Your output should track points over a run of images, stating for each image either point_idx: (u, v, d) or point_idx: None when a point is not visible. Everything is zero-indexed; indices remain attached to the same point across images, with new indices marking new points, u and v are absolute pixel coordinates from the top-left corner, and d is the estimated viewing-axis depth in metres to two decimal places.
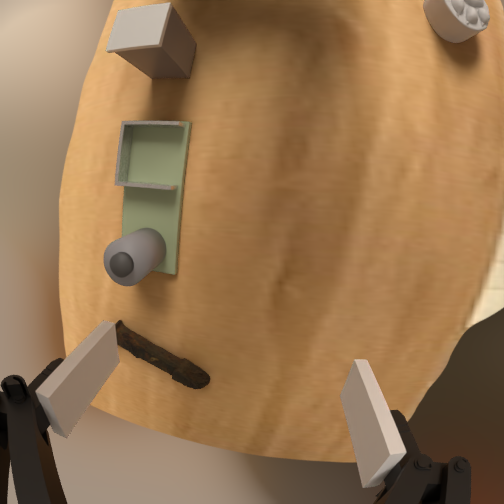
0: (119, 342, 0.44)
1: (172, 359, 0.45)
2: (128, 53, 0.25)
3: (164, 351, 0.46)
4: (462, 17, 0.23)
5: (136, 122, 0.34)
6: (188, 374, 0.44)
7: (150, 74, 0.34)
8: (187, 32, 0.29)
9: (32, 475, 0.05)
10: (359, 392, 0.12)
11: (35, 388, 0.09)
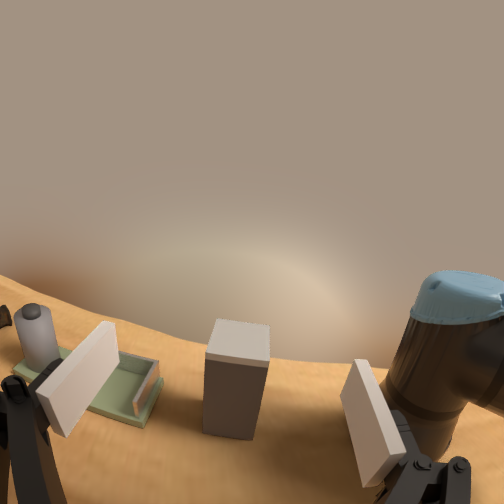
0: None
1: None
2: None
3: None
4: None
5: (151, 370, 0.33)
6: None
7: None
8: (254, 415, 0.28)
9: (32, 475, 0.05)
10: (359, 392, 0.12)
11: (35, 388, 0.09)
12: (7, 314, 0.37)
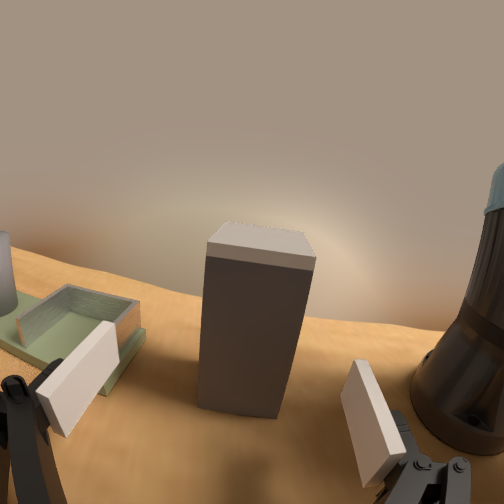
0: None
1: None
2: None
3: None
4: None
5: (126, 311, 0.23)
6: None
7: None
8: (283, 370, 0.18)
9: (32, 475, 0.05)
10: (359, 392, 0.12)
11: (35, 388, 0.09)
12: None
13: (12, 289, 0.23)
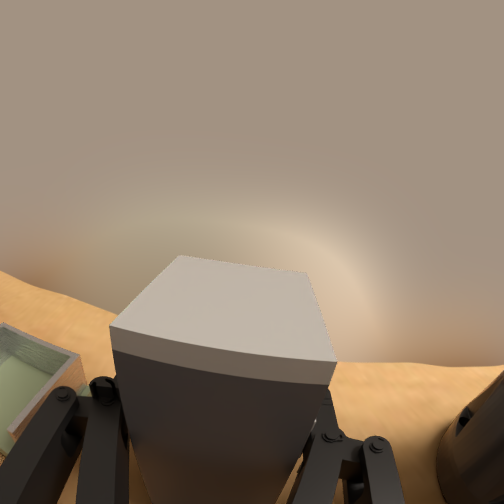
0: None
1: None
2: None
3: None
4: None
5: (60, 372, 0.14)
6: None
7: None
8: (269, 495, 0.09)
9: (102, 481, 0.06)
10: None
11: None
12: None
13: None
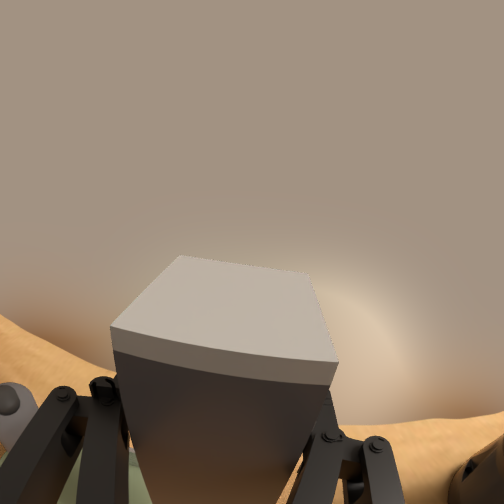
0: None
1: None
2: None
3: None
4: None
5: None
6: None
7: None
8: (270, 495, 0.09)
9: (102, 481, 0.06)
10: None
11: None
12: None
13: None
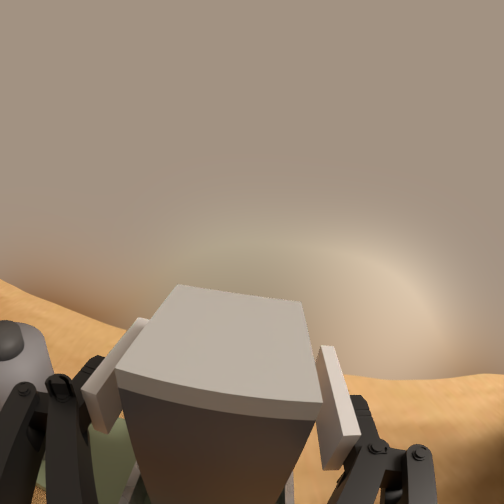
0: None
1: None
2: None
3: None
4: None
5: None
6: None
7: None
8: None
9: (67, 476, 0.05)
10: (323, 376, 0.13)
11: (77, 385, 0.10)
12: None
13: None
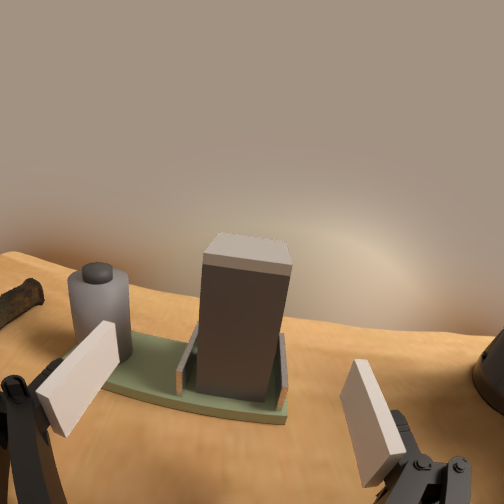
0: (22, 285, 0.30)
1: None
2: None
3: None
4: None
5: (282, 345, 0.27)
6: None
7: None
8: (268, 359, 0.22)
9: (32, 475, 0.05)
10: (359, 391, 0.12)
11: (35, 388, 0.09)
12: (39, 288, 0.32)
13: (130, 332, 0.26)
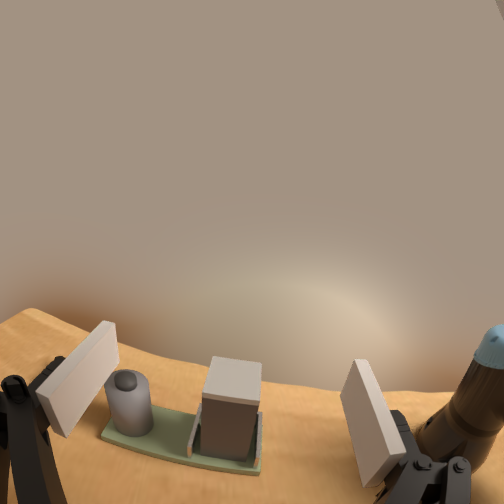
0: None
1: None
2: None
3: None
4: None
5: (260, 423, 0.35)
6: None
7: None
8: (246, 442, 0.29)
9: (32, 475, 0.05)
10: (359, 392, 0.12)
11: (35, 388, 0.09)
12: None
13: None
